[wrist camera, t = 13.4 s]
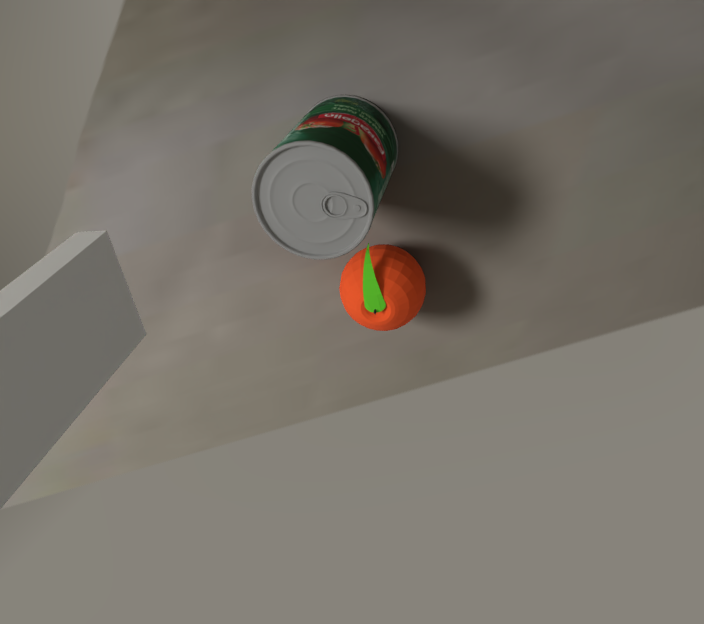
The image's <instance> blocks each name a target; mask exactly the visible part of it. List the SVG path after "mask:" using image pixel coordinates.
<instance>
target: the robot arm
mask: <svg viewBox="0 0 704 624" xmlns="http://www.w3.org/2000/svg"><path fill="white" fill-rule="evenodd" d="M145 335H146V332H145V329H144V327H143V324H142V321H141V319H140V316H139V314H138V311H137V308H136V306H135V303H134V301H133V298H132V295H131V293H130V290H129V287H128V285H127V282H126V280H125V277H124V274H123V272H122V269H121V267H120V264H119V261H118V259H117V256H116V254H115V251H114V248H113V246H112V243H111V241H110V238H109V235H108V233H107V231H90V232H76V233H75V234H74V235H72V236H71V237H70V238H68V239H67V240H66V241H65V242H63V243H62V244H61V245H59V246H58V247H57V248H55V249H54V250H53V251H51V252H50V253H49V254H48V255H46V256H45V257H44V258H42V259H41V260H40V261H38V262H37V263H36V264H35V265H33V266H32V267H31V268H29V269H28V270H27V271H25V272H24V273H23V274H22V275H20V276H19V277H18V278H16V279H15V280H14V281H12V282H11V283H10V284H8V285H7V286H6V287H4V288H3V289H2V290H1V291H0V509H1V508H2V507H3V505H4V504H5V503H6V502H7V501H8V499H9V498H10V497H11V496H12V495H13V493H14V492H15V491H16V490H17V489H18V487H19V486H20V485H21V484H22V483H23V481H24V480H25V479H26V478H27V477H28V475H29V474H30V473H31V472H32V471H33V469H34V468H35V467H36V466H37V465H38V463H39V462H40V461H41V460H42V459H43V457H44V456H45V455H46V454H47V453H48V451H49V450H50V449H51V448H52V447H53V445H54V444H55V443H56V442H57V441H58V439H59V438H60V437H61V436H62V435H63V433H64V432H65V431H66V430H67V429H68V427H69V426H70V425H71V424H72V423H73V421H74V420H75V419H76V418H77V417H78V415H79V414H80V413H81V412H82V411H83V409H84V408H85V407H86V406H87V405H88V404H89V402H90V401H91V400H92V399H93V398H94V396H95V395H96V394H97V393H98V392H99V390H100V389H101V388H102V387H103V386H104V384H105V383H106V382H107V381H108V380H109V378H110V377H111V376H112V375H113V374H114V372H115V371H116V370H117V369H118V368H119V366H120V365H121V364H122V363H123V362H124V360H125V359H126V358H127V357H128V356H129V354H130V353H131V352H132V351H133V350H134V348H135V347H136V346H137V345H138V344H139V342H140V341H141V340H142V339H143V338H144V336H145Z"/></svg>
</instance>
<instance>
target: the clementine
mask: <svg viewBox="0 0 704 624" xmlns="http://www.w3.org/2000/svg"><path fill="white" fill-rule="evenodd" d="M425 294H426V286H425V276H424V273H423V271H422V268H421V267H420V265H419V264H418V263H417V261H416V260H415V258H414V257H413V256H411V255H410V254H409V253H408V252H407V251H405V250H403V249H401V248H399V247H396V246H392V245H375V246H371V247H369V243H368V246H367V248H365V249H363V250H361V251H360V252H358V253H356V254H355V255H354V256H353V257H352V258H351V259H350V261H349V262H348V263H347V264H346V266H345V268H344V270H343V272H342V276H341V282H340V295H341V300H342V302H343V305H344V307H345V309H346V311H347V312H348V314H349V315H350V316H351V317H352V319H354V320H355V321H356V322H358V323H359V324H361V325H363V326H365V327H367V328H369V329H374V330H379V331H388V330H393V329H397V328H399V327H401V326H403V325H405V324H406V323H408V322H409V321H410V320H412V319H413V318H414V317H415V316H416V315H417V313H418V311H419V310H420V308H421V306H422V304H423V302H424V298H425Z"/></svg>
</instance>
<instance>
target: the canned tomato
mask: <svg viewBox="0 0 704 624" xmlns="http://www.w3.org/2000/svg"><path fill="white" fill-rule="evenodd" d="M397 157H398V140H397V136H396V133H395V130H394V128H393V126H392V124H391V122H390V120H389V119H388V117H387V116H386V115H385V113H384V112H383V111H382V110H380V109H379V108H378V107H377V106H376V105H374V104H373V103H371V102H369V101H368V100H366V99H363V98H360V97H357V96H351V95H337V96H333V97H329V98H326V99H324V100H322V101H321V102H319V103H317V104H316V105H315V106H314V107H312V108H311V109H310V110H309V112H308V113H307V114H306V115H305V116H304V117H303V119H301V121H300V122H299V123H298V124H297V125H296V126H295V127H294V128H293V129H292V130H291V131H290V132H289V133H288V135H287V136H286V137H285V138H284V139H283V140H282V141H281V142H280V143H279V144H278V145H277V147H275V148H274V150H273V151H272V152H271V153H270V154H269V155H267V156H266V157H265V158H264V160H263V161H262V163H261V164H260V165H259V167H258V169H257V171H256V174H255V176H254V179H253V184H252V202H253V207H254V211H255V214H256V216H257V219H258V221H259V223H260V224H261V226H262V227H263V229H264V231H265V232H266V233H267V234H268V235H269V236H270V238H271V239H272V240H273V241H274V242H276V243H277V244H278V245H279V246H281V247H282V248H284V249H285V250H287V251H289V252H291V253H293V254H295V255H298V256H301V257H304V258H310V259H331V258H336V257H339V256H342V255H344V254H346V253H348V252H350V251H351V250H353V249H354V248H356V247H357V246H358V245H359V244H360V243H361V241H362V240H363V239H364V238H365V236H366V235H367V233H368V231H369V230H370V227H371V224H372V221H373V218H374V216H375V213H376V211H377V209H378V206H379V204H380V201H381V199H382V196H383V194H384V191H385V189H386V187H387V184H388V182H389V179H390V177H391V174H392V172H393V171H394V168H395V165H396V162H397Z"/></svg>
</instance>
